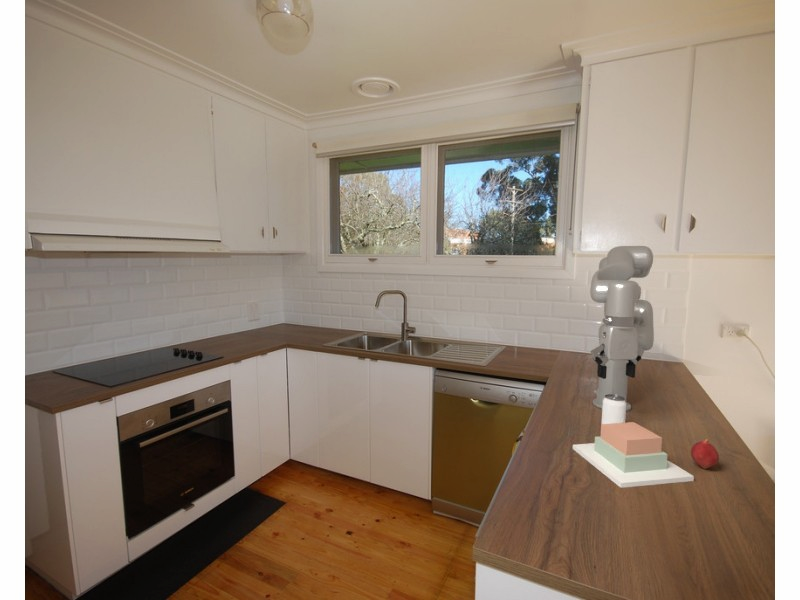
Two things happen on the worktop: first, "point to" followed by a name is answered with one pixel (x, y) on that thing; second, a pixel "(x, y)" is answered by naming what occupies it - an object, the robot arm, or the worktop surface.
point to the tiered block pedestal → (631, 456)
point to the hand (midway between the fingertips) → (615, 377)
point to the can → (613, 409)
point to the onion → (704, 454)
